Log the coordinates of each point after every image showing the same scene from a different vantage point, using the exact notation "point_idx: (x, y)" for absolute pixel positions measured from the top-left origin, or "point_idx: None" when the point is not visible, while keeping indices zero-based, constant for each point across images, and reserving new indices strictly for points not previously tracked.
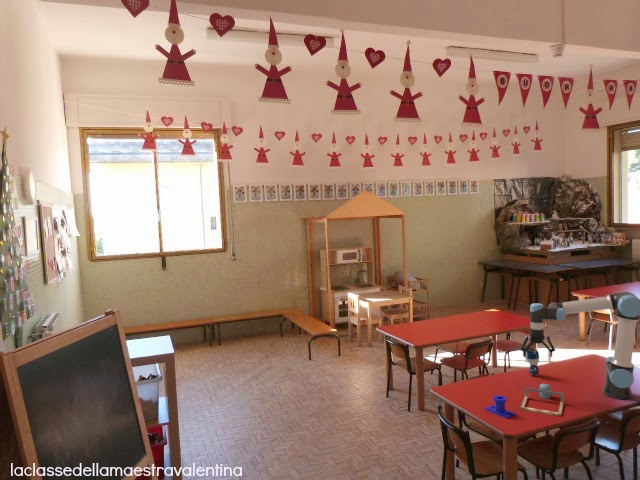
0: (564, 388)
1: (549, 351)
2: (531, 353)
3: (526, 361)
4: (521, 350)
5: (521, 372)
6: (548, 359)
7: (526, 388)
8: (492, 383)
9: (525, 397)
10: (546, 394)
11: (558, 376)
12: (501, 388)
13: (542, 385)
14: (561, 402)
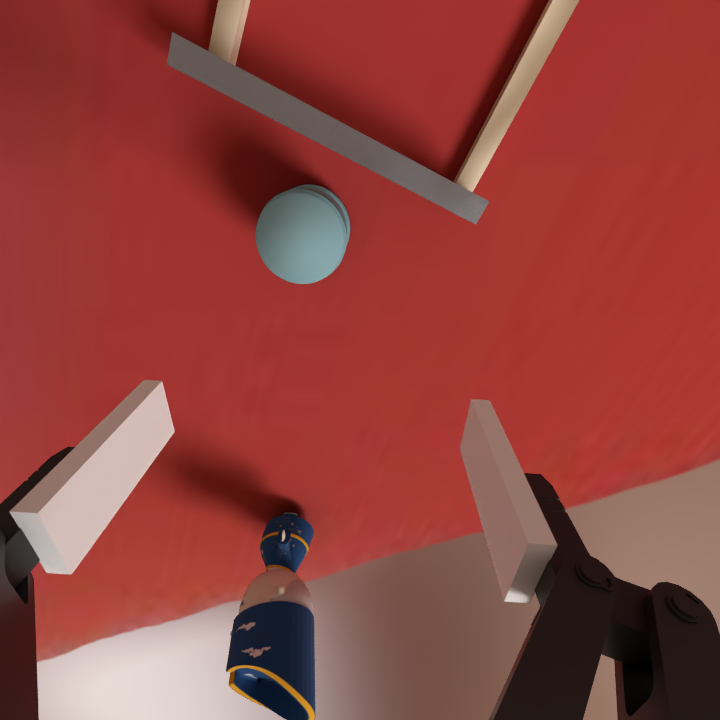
0: (166, 360)
1: (31, 552)
2: (280, 649)
3: (487, 409)
4: (687, 596)
5: (341, 549)
6: (149, 433)
7: (477, 196)
8: (557, 436)
9: (480, 166)
10: (311, 188)
11: (175, 504)
12: (544, 366)
13: (321, 244)
14: (225, 41)
